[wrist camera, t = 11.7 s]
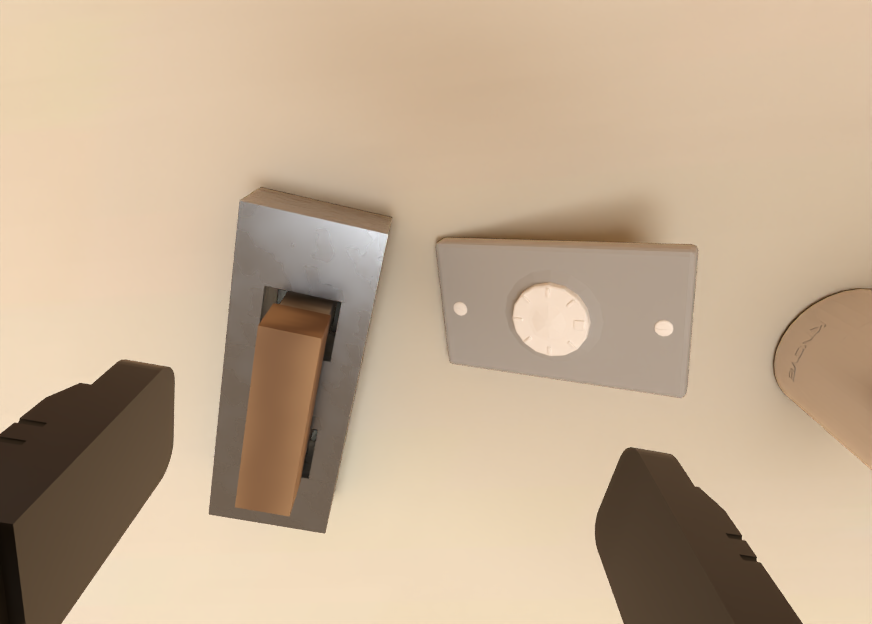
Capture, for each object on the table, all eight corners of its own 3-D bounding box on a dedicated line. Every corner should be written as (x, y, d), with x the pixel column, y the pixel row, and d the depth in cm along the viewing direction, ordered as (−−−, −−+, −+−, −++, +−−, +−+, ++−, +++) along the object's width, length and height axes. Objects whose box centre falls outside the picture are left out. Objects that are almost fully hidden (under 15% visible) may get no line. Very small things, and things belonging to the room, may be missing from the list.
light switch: (426, 246, 32) (695, 257, 25) (467, 220, 37) (703, 223, 30) (442, 371, 35) (683, 409, 29) (477, 332, 40) (692, 357, 33)
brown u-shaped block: (343, 284, 35) (321, 338, 27) (315, 435, 39) (289, 516, 32) (293, 273, 34) (257, 325, 27) (270, 426, 39) (234, 507, 31)
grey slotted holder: (392, 217, 33) (388, 234, 29) (334, 493, 41) (325, 533, 38) (260, 187, 32) (239, 200, 28) (228, 475, 40) (208, 514, 37)
